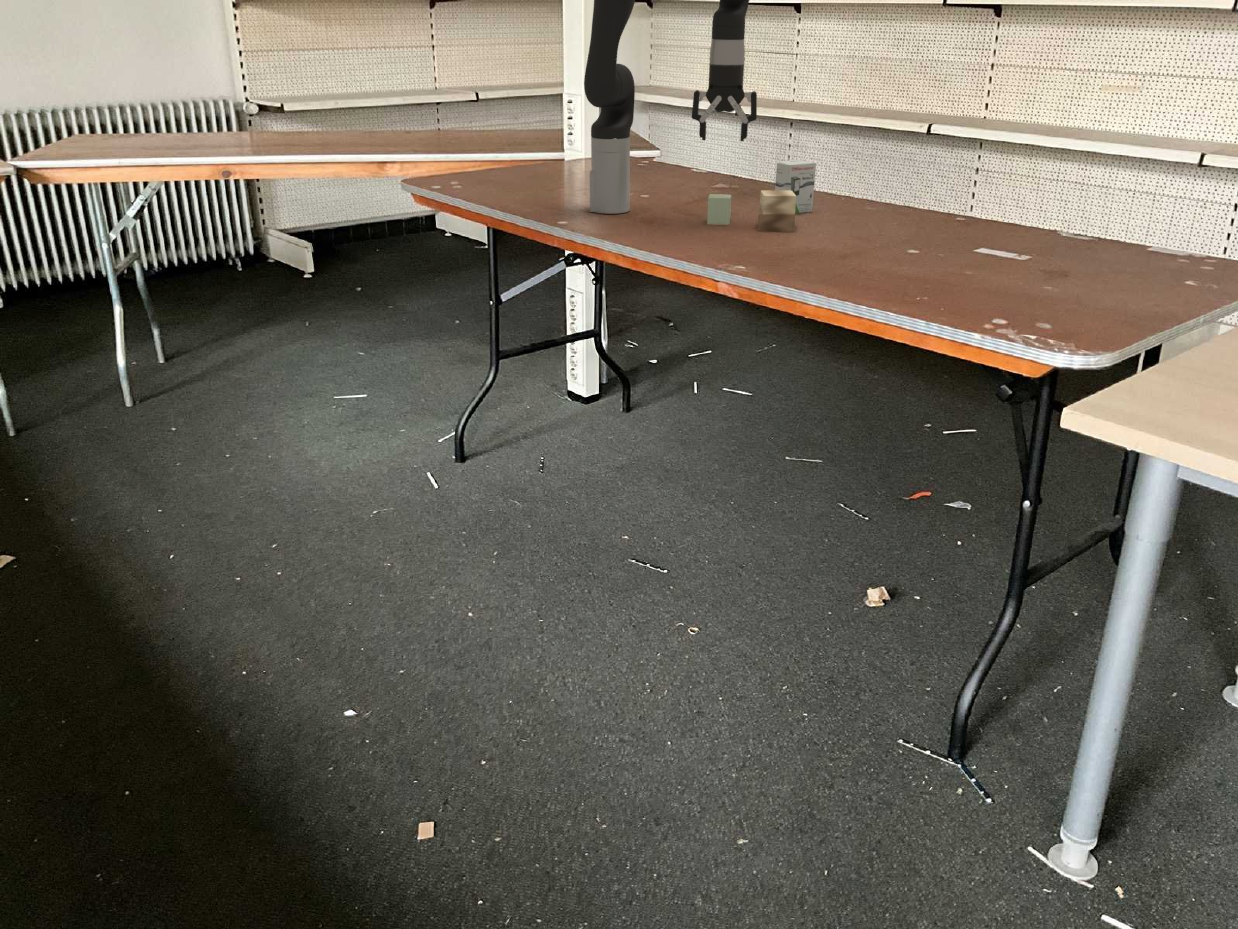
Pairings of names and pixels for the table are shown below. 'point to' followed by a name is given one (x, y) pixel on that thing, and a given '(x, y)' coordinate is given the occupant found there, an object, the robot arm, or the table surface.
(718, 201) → the sage block
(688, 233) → the table surface
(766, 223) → the tower base
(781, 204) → the tower top
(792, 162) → the ink box
